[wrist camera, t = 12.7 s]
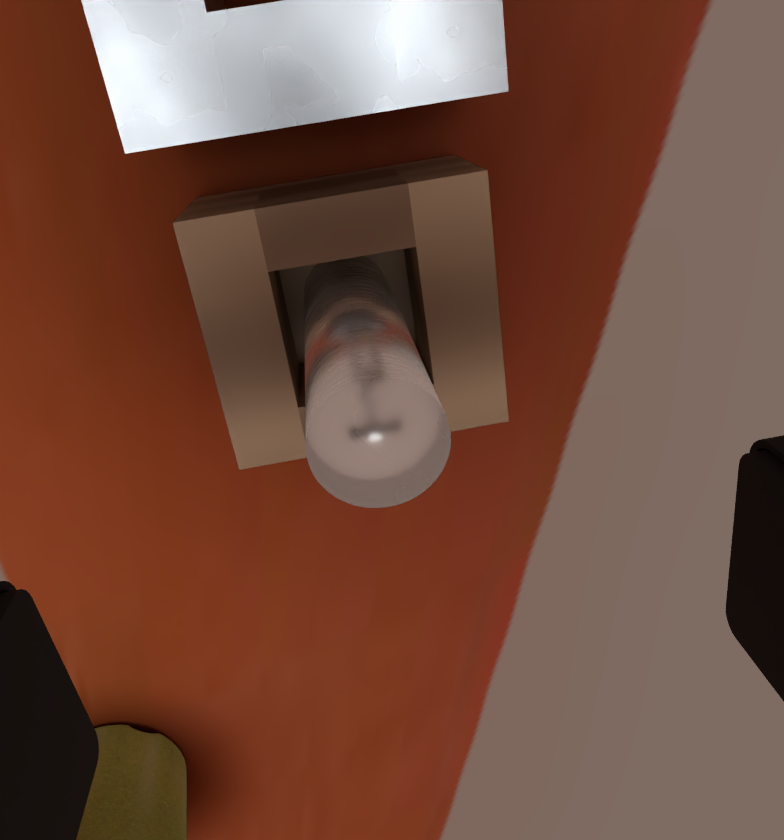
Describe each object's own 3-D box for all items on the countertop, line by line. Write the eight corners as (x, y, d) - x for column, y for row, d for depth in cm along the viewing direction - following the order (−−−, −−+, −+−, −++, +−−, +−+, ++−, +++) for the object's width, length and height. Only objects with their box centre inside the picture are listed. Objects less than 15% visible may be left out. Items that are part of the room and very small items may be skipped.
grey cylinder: (296, 259, 25) (292, 391, 14) (381, 245, 25) (442, 365, 14) (312, 341, 26) (320, 519, 16) (394, 327, 27) (458, 493, 16)
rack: (196, 197, 25) (172, 222, 20) (454, 155, 25) (487, 170, 21) (249, 408, 28) (239, 469, 24) (476, 368, 29) (508, 421, 24)
